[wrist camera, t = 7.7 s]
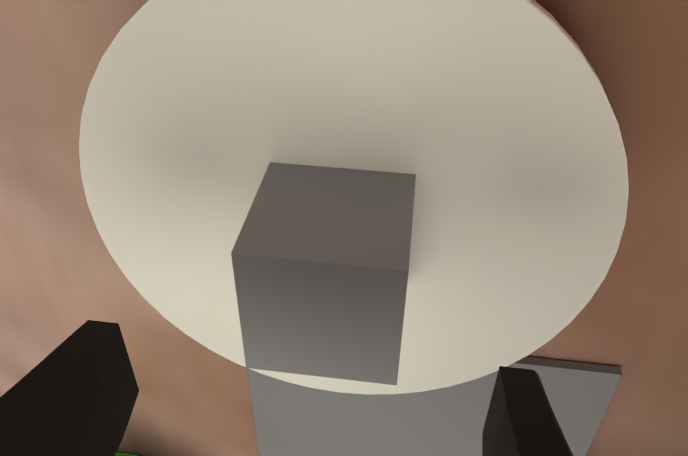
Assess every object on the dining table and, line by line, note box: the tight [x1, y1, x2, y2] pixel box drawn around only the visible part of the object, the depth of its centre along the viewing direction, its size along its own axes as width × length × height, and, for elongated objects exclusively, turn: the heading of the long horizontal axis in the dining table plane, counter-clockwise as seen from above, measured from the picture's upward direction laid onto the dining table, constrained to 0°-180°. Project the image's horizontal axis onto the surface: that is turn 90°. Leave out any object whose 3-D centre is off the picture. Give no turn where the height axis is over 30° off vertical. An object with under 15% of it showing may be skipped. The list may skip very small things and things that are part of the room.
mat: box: [248, 357, 622, 456], centre depth 29 cm, size 15×15×1 cm
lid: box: [79, 0, 629, 395], centre depth 15 cm, size 14×14×4 cm
